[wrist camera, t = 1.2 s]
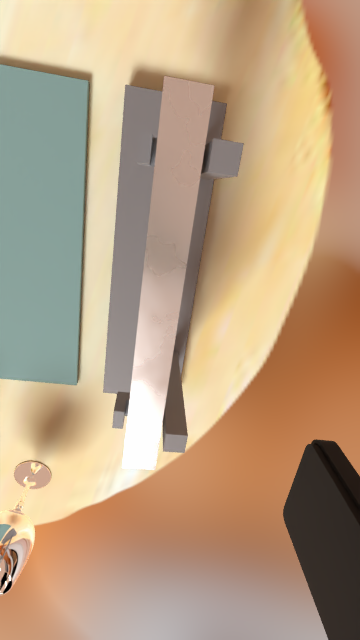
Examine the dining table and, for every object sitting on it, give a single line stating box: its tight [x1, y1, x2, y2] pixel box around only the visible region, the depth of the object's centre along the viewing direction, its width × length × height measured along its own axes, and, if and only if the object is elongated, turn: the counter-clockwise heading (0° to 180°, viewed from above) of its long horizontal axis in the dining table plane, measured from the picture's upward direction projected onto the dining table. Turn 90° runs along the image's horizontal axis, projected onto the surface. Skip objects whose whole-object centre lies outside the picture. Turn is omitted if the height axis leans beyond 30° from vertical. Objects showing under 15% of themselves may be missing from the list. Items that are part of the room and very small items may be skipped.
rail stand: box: [103, 85, 244, 453], centre depth 26 cm, size 28×8×14 cm, turn 171°
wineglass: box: [0, 461, 51, 596], centre depth 36 cm, size 6×6×12 cm
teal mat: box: [0, 64, 89, 385], centre depth 31 cm, size 28×10×1 cm, turn 171°
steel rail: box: [122, 76, 214, 470], centre depth 21 cm, size 24×2×3 cm, turn 172°
